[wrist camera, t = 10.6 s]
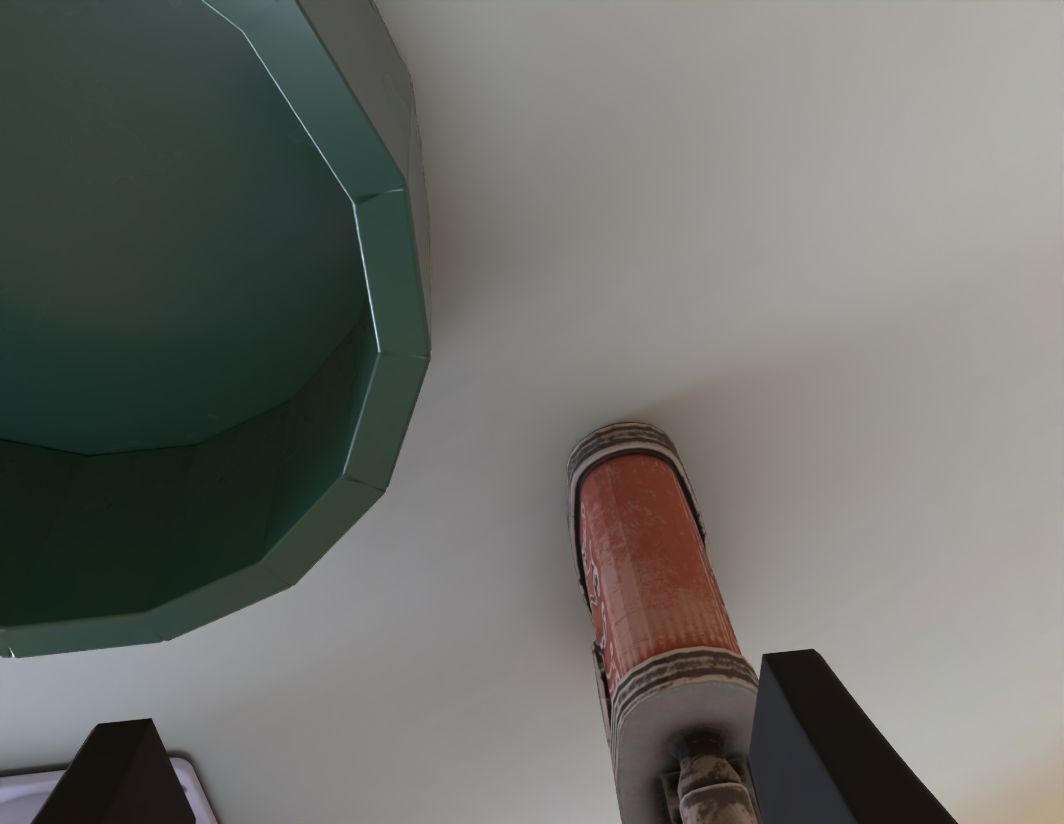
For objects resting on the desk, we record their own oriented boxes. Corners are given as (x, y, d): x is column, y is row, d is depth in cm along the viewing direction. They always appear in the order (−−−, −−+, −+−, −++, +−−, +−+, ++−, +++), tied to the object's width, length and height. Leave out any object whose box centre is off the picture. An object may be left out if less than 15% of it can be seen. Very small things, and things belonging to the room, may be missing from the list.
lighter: (542, 440, 22) (611, 845, 14) (684, 408, 22) (838, 799, 14) (600, 661, 27) (676, 1061, 19) (717, 635, 27) (847, 1028, 19)
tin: (458, 432, 22) (467, 610, 17) (-150, 495, 21) (-303, 696, 17) (363, -311, 14) (335, -337, 9) (-606, -244, 13) (-1127, -240, 9)
